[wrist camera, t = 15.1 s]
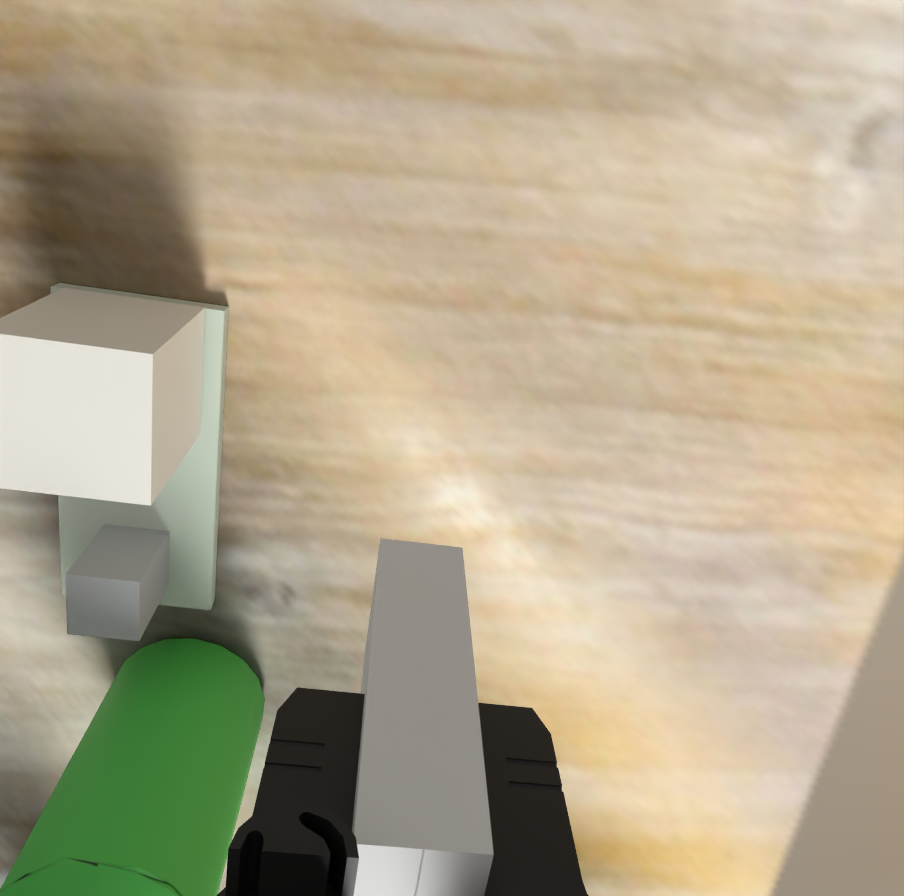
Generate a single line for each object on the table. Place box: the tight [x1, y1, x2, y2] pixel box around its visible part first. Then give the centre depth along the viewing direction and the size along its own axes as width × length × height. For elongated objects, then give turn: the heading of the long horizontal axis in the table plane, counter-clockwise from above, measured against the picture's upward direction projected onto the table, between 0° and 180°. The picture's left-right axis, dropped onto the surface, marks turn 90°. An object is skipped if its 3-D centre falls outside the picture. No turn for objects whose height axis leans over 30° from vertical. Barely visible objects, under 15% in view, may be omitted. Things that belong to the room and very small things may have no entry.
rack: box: [51, 283, 229, 641], centre depth 39 cm, size 8×17×6 cm, turn 171°
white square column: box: [0, 288, 205, 506], centre depth 34 cm, size 6×6×8 cm
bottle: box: [0, 639, 265, 896], centre depth 36 cm, size 9×9×25 cm
